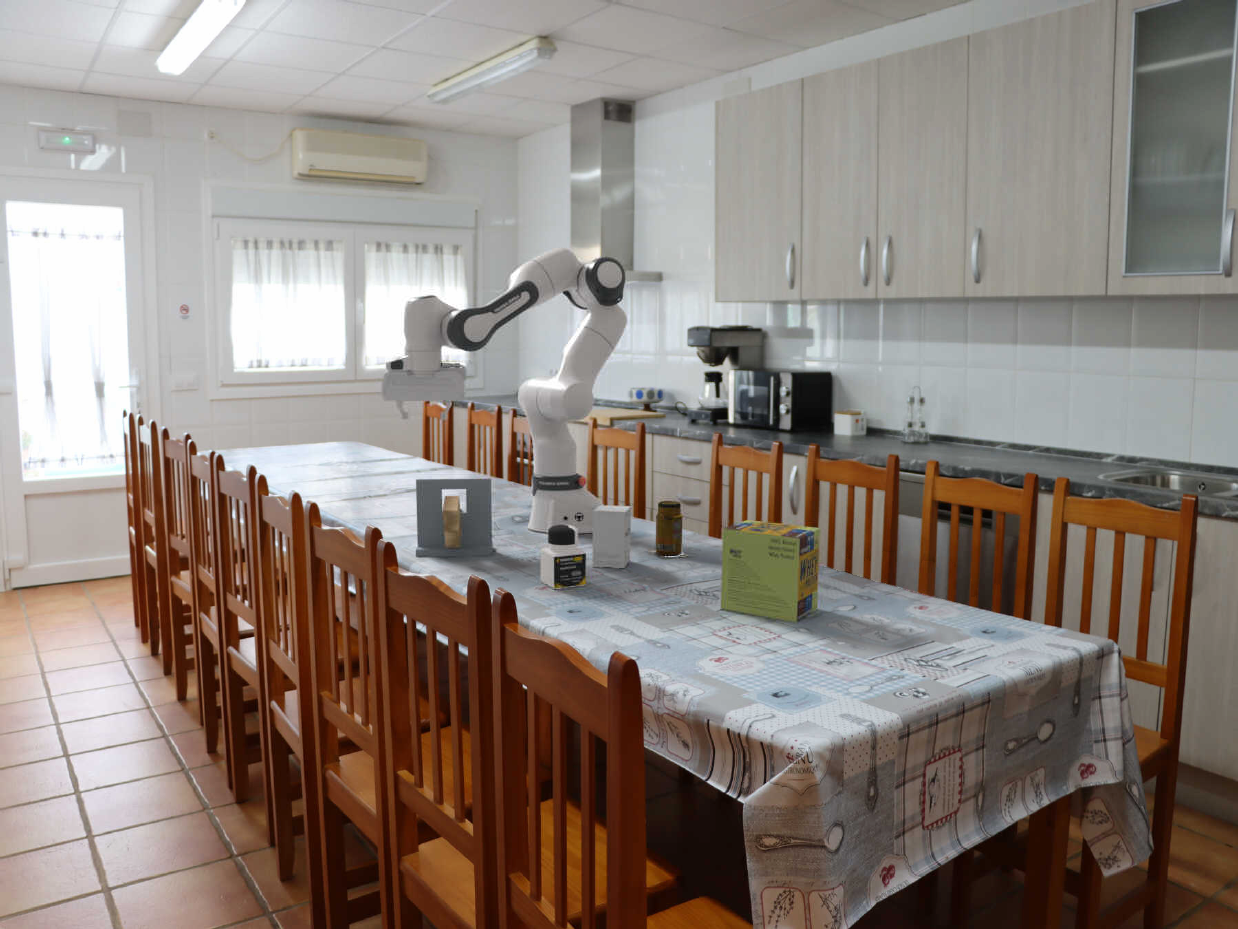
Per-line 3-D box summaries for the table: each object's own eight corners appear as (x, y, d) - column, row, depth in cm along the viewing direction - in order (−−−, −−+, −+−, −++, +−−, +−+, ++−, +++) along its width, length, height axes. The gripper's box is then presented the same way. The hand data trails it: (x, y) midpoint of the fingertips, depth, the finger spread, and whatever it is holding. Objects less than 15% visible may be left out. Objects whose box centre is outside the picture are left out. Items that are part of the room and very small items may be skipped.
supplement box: (624, 569, 211) (625, 511, 209) (591, 567, 212) (591, 510, 210) (631, 561, 218) (631, 505, 216) (599, 559, 219) (599, 504, 217)
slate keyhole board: (492, 547, 231) (491, 476, 228) (491, 555, 223) (490, 481, 220) (420, 548, 229) (418, 476, 227) (415, 556, 221) (413, 482, 219)
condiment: (676, 549, 230) (677, 499, 228) (691, 557, 222) (692, 505, 220) (648, 551, 228) (648, 500, 226) (662, 559, 220) (662, 507, 218)
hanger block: (464, 523, 228) (462, 486, 223) (461, 547, 220) (459, 510, 215) (447, 523, 228) (444, 487, 223) (443, 548, 219) (440, 510, 214)
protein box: (797, 623, 173) (800, 537, 171) (719, 609, 181) (721, 527, 179) (818, 609, 182) (821, 527, 180) (743, 596, 190) (745, 518, 188)
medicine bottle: (554, 590, 194) (553, 531, 192) (540, 582, 200) (539, 524, 198) (586, 586, 197) (586, 528, 195) (571, 578, 203) (571, 521, 201)
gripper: (467, 362, 241) (468, 418, 243) (383, 362, 240) (385, 418, 241) (465, 363, 235) (466, 420, 237) (379, 363, 233) (380, 420, 235)
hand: (424, 419), depth 239 cm, fingers open, 8 cm apart
